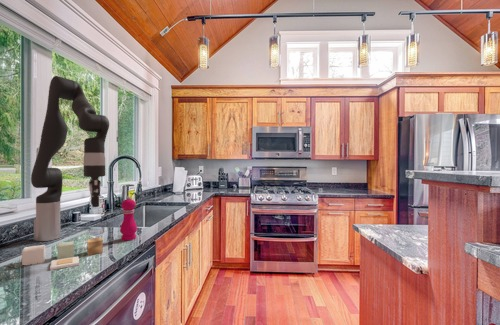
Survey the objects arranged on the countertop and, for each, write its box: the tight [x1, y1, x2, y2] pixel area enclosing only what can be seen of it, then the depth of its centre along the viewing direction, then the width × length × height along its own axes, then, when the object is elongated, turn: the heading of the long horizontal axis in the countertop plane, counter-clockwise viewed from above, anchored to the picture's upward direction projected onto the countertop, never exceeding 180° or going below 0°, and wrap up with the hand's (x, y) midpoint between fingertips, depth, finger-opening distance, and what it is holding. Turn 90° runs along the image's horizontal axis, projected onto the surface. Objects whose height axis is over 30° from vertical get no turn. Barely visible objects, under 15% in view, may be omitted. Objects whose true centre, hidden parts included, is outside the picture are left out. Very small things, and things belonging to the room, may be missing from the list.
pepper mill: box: [119, 195, 138, 242], centre depth 127 cm, size 7×7×20 cm
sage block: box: [57, 240, 75, 260], centre depth 103 cm, size 5×5×5 cm
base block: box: [21, 244, 46, 266], centre depth 98 cm, size 6×6×5 cm
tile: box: [49, 255, 80, 271], centre depth 95 cm, size 8×8×1 cm
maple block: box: [86, 237, 104, 256], centre depth 108 cm, size 5×5×5 cm
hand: (94, 205), depth 108 cm, fingers open, 8 cm apart
